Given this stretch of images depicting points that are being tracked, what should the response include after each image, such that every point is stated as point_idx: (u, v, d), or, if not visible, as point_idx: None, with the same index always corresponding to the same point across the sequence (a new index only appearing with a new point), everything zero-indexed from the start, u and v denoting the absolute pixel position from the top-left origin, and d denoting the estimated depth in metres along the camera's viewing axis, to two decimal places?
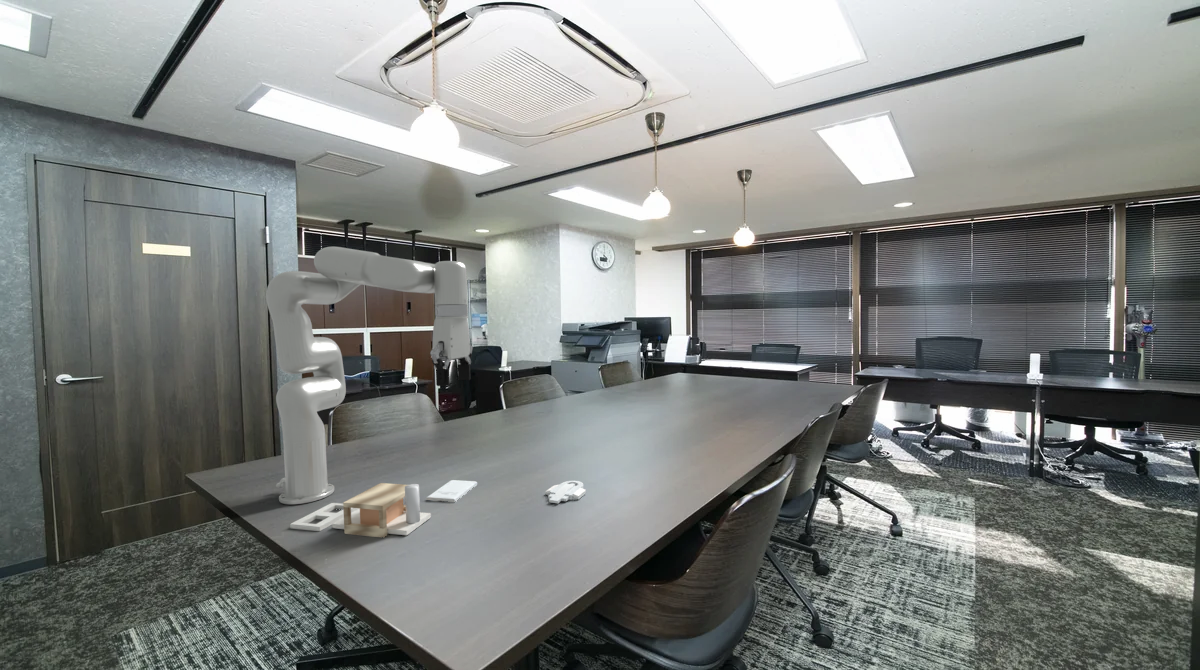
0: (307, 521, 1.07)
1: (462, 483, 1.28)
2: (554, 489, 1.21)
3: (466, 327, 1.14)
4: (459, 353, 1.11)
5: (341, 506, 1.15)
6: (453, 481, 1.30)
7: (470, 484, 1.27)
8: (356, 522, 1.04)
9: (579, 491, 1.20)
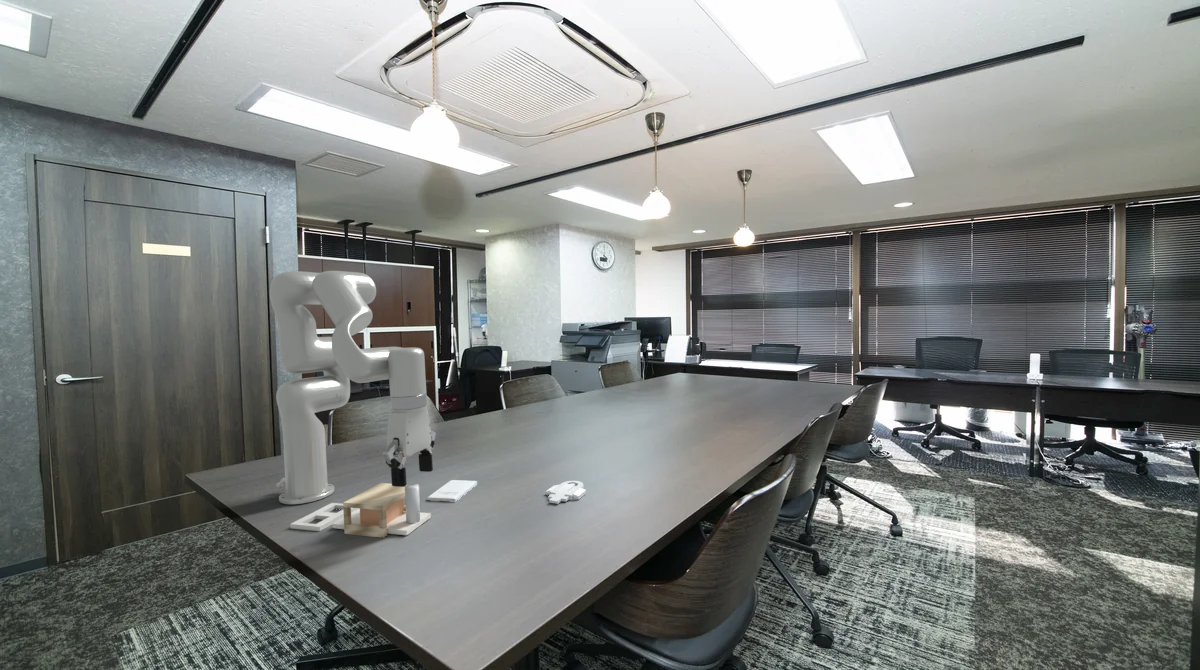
0: (307, 521, 1.07)
1: (462, 483, 1.28)
2: (554, 489, 1.21)
3: (426, 416, 1.05)
4: (417, 447, 1.02)
5: (341, 506, 1.15)
6: (453, 481, 1.30)
7: (470, 484, 1.28)
8: (356, 522, 1.04)
9: (579, 491, 1.20)
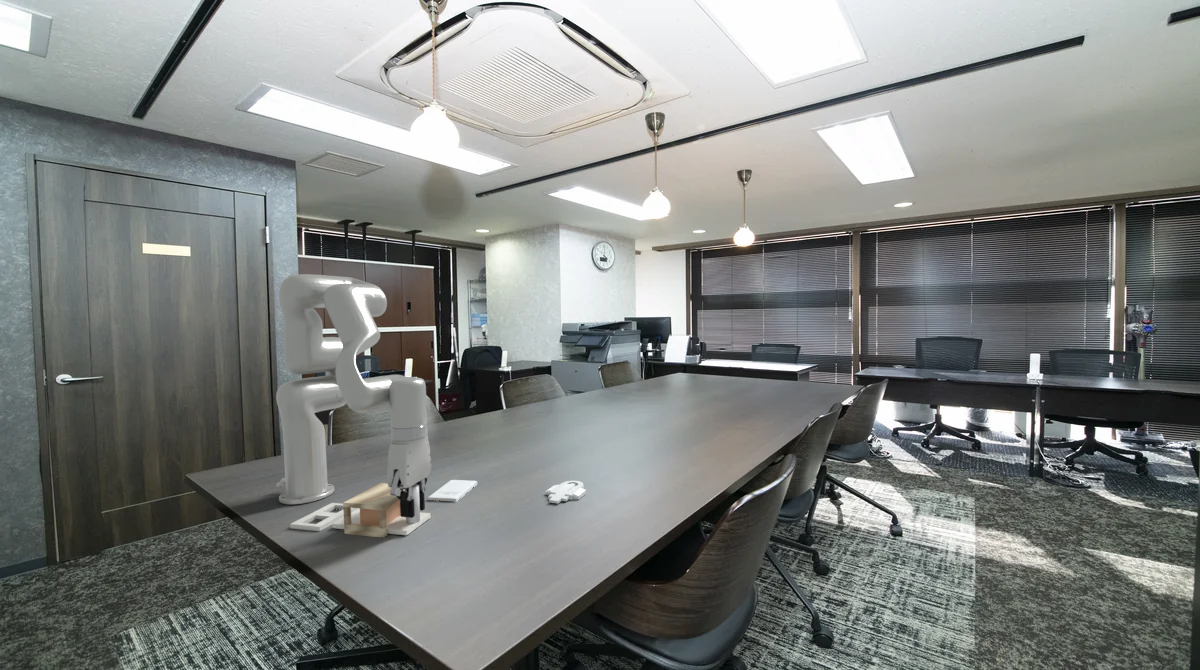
0: (307, 521, 1.07)
1: (462, 483, 1.29)
2: (554, 489, 1.22)
3: (426, 446, 1.06)
4: (417, 477, 1.03)
5: (341, 506, 1.15)
6: (453, 481, 1.30)
7: (470, 483, 1.28)
8: (356, 522, 1.04)
9: (579, 491, 1.20)
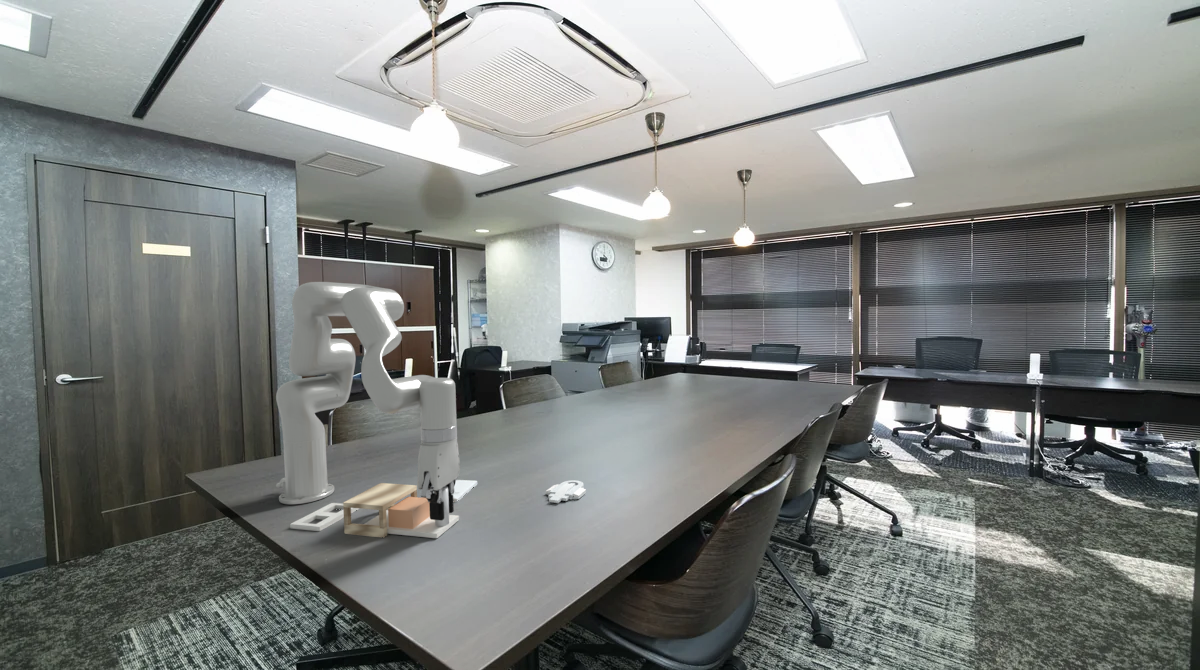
0: (307, 521, 1.07)
1: (462, 482, 1.29)
2: (554, 489, 1.22)
3: (455, 447, 1.04)
4: (447, 480, 1.01)
5: (341, 506, 1.15)
6: None
7: (471, 483, 1.28)
8: None
9: (579, 491, 1.20)
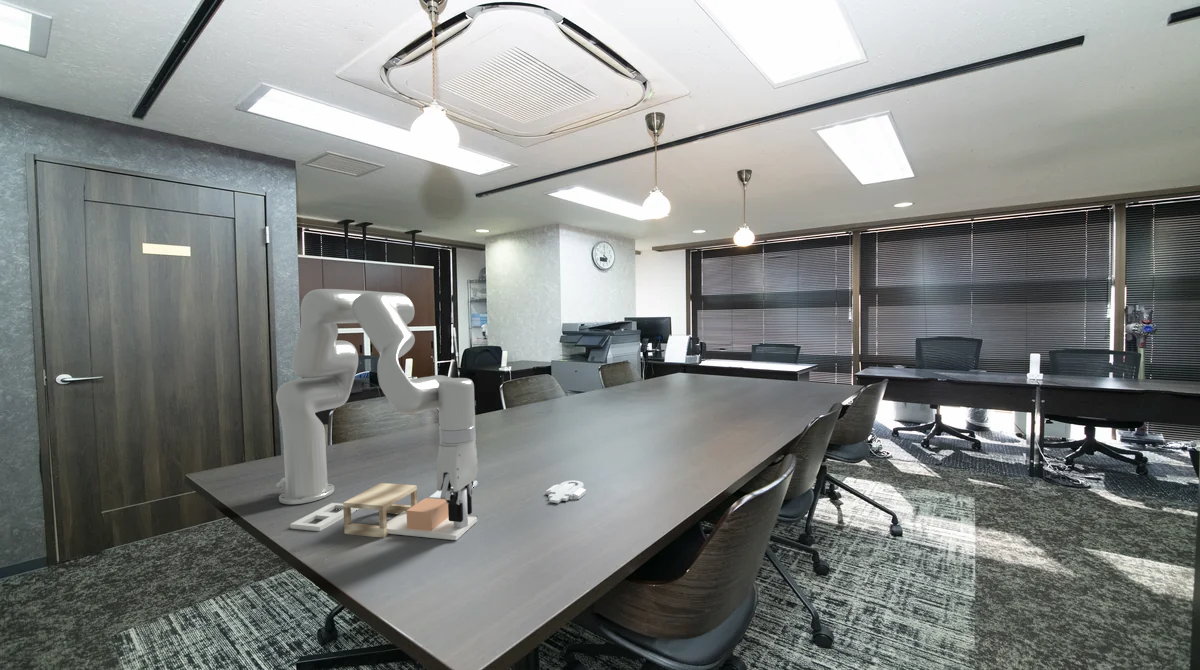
0: (307, 521, 1.07)
1: None
2: (554, 489, 1.22)
3: (473, 448, 1.03)
4: (466, 481, 1.00)
5: (341, 506, 1.15)
6: None
7: None
8: (402, 526, 1.02)
9: (579, 491, 1.20)
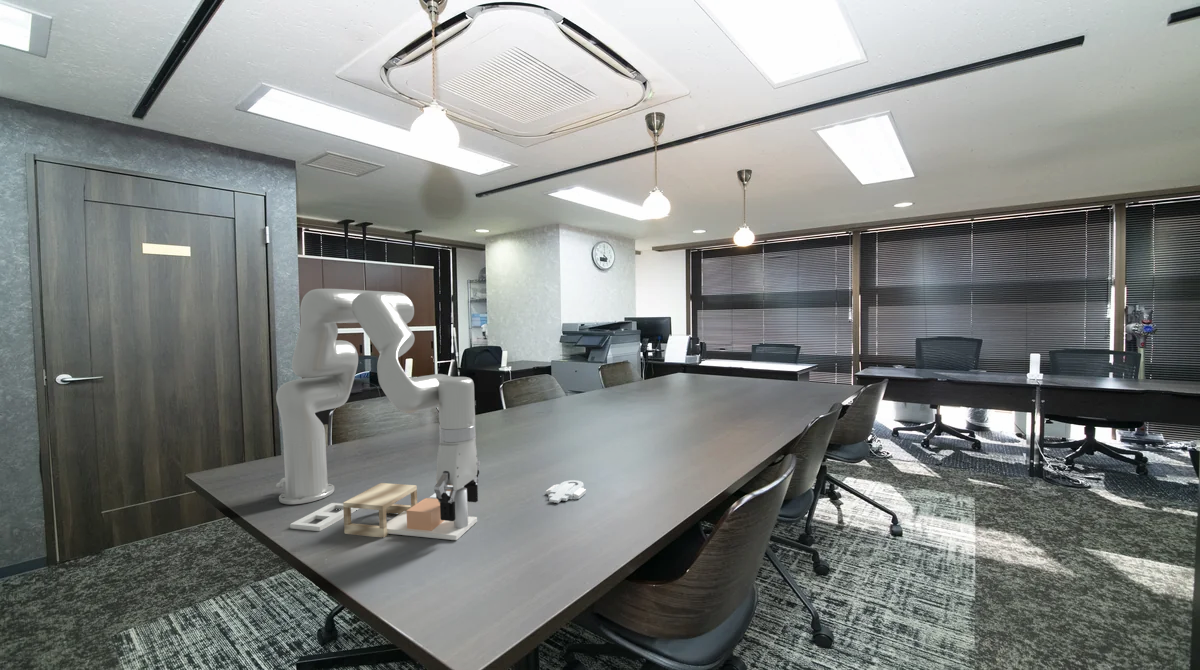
0: (307, 521, 1.07)
1: None
2: (554, 488, 1.22)
3: (473, 447, 1.03)
4: (466, 480, 1.00)
5: (341, 506, 1.15)
6: None
7: None
8: (402, 526, 1.02)
9: (579, 491, 1.20)
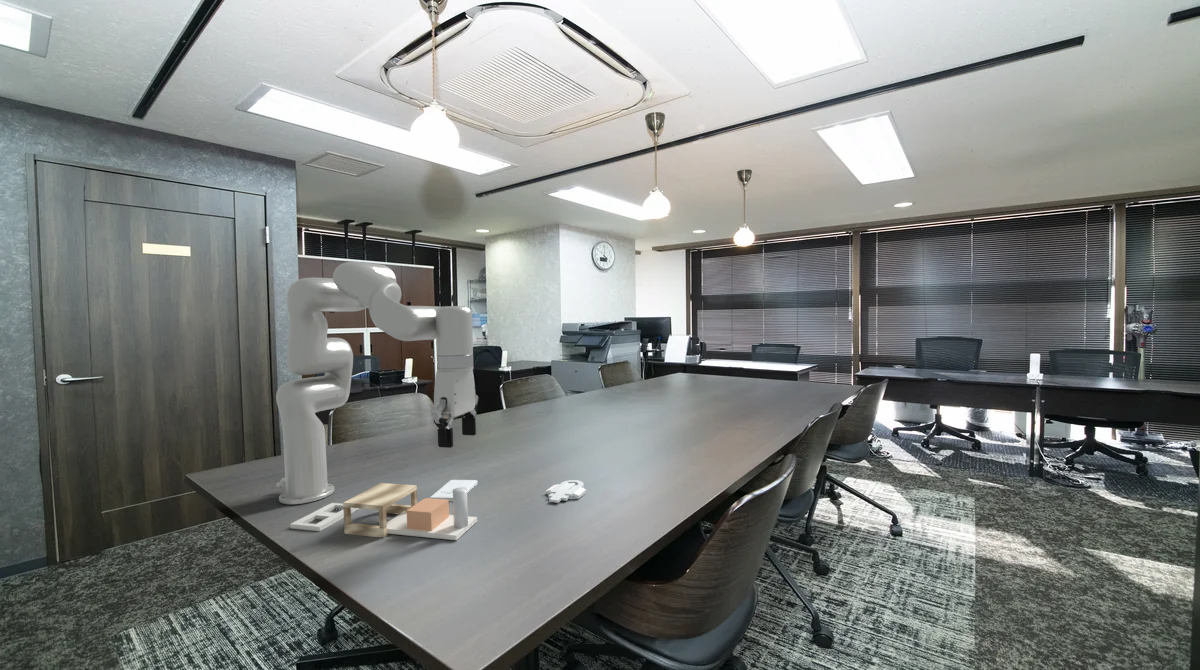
0: (307, 521, 1.07)
1: (463, 482, 1.29)
2: (554, 488, 1.22)
3: (471, 378, 1.03)
4: (464, 408, 0.99)
5: (341, 506, 1.15)
6: (453, 481, 1.30)
7: (471, 483, 1.28)
8: (402, 526, 1.02)
9: (579, 490, 1.20)
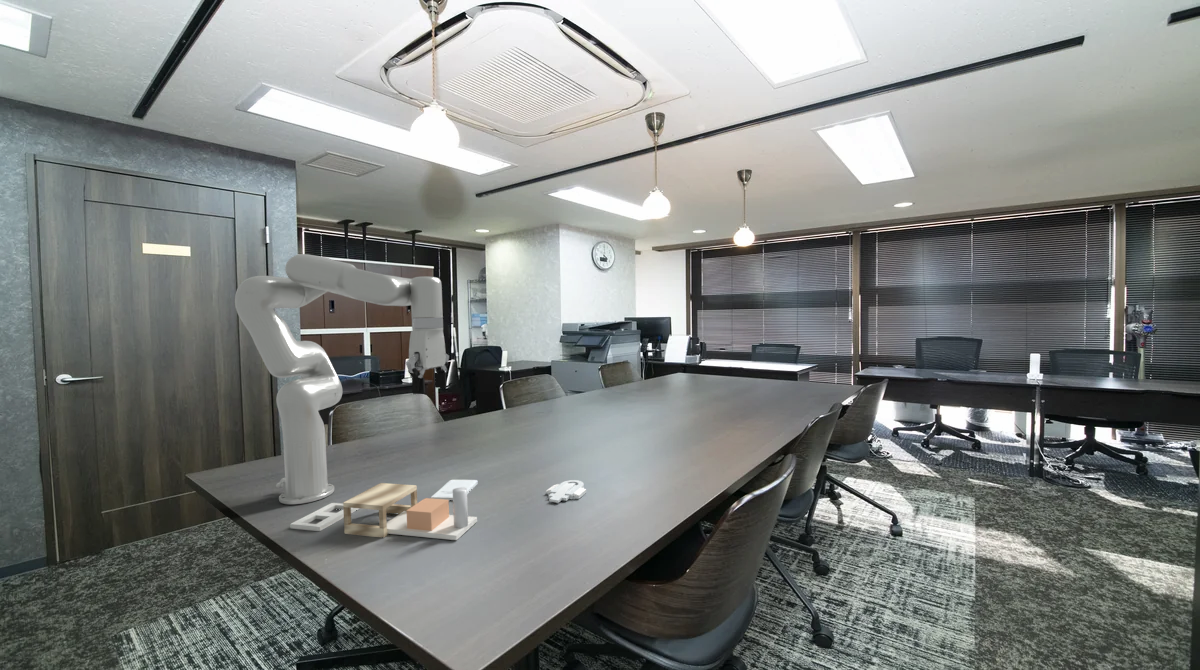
0: (307, 521, 1.07)
1: (463, 482, 1.29)
2: (554, 488, 1.22)
3: (442, 338, 1.22)
4: (434, 363, 1.18)
5: (341, 506, 1.15)
6: (453, 481, 1.30)
7: (471, 483, 1.28)
8: (402, 526, 1.02)
9: (579, 490, 1.20)
